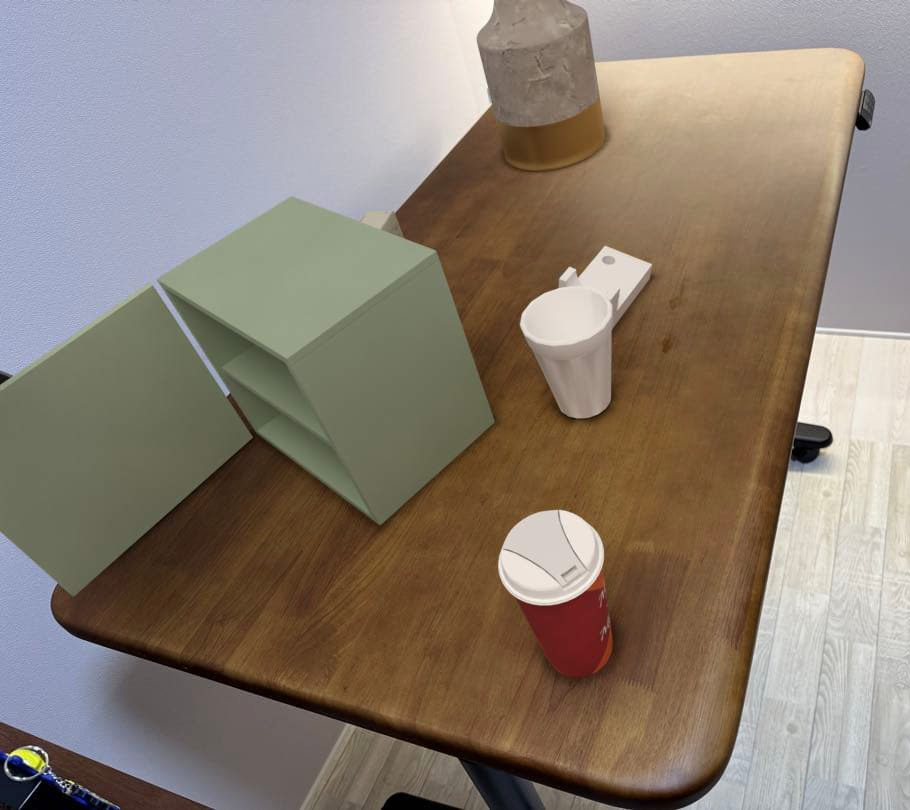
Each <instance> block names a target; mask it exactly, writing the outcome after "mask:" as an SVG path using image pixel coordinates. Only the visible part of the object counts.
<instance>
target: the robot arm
mask: <svg viewBox="0 0 910 810" xmlns="http://www.w3.org/2000/svg"><path fill="white" fill-rule="evenodd" d="M13 376H14V375H13V374H10V373H8V372H6V371H3V370H0V385H1V384H2V383H4V382H5V381H7V380H8V379H10V378H11V377H13Z"/></svg>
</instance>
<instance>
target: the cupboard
mask: <svg viewBox="0 0 910 810" xmlns="http://www.w3.org/2000/svg"><path fill="white" fill-rule="evenodd" d="M156 281H157V284H159V286H160V287H161V290H163V292H164V294H165V295H166V297H167V298H168V300H169V301H170V303H171V304H172V306H173V307H174V309H175V310H176V312H177V313H178V315H179V317H180V318H181V321H183V323H184V324H185V326H186V327H187V329H188V330H189V332H190V334H191V335H192V336H193V338H194V340H195V341H196V342H197V344H198V346H199V348H200V349H201V351H202V352H203V353H204V355H205V357H206V358H207V360H208V362H209V363H210V364H211V366H212V367H213V369H214V370H215V372H216V373H217V375H218V377H219V378H220V380H221V381H222V383H223V384H224V385H225V387H226V389H227V390H228V392H229V393H230V395H231V396H232V398H233V400H234V401H235V402H236V403H235V404H237V405H238V407H239V409H240V410H241V412H242V413H243V415H244V416H245V418H246V419H247V421H248V422H249V424H250V425H251V428H252V429H253V430H254V432H255V433H256V434H257V435H258V436H259V437H261V438H262V439H264V440H265V441H266V442H267V443H269V444H270V445H272V446H273V447H274V448H275V449H277V450H278V451H280V453H282V454H283V455H285V456H286V457H287V458H288V459H290V460H292V461H293V462H294V463H295V464H297V465H298V466H299V467H301V468H302V469H304V470H305V471H306V472H308V473H309V474H310V475H312V476H313V477H314V478H316V479H317V480H318V481H319V482H321V483H322V484H324V485H325V486H326V487H327V488H329V489H330V490H332V491H333V492H334V493H336V494H337V495H339V496H340V497H341V498H343V499H344V500H345V501H346V502H348V503H349V504H351V505H352V507H354V508H356V509H357V510H358V511H360V512H361V513H363V514H364V515H365V516H367V517H368V518H369V519H371V520H372V521H373V522H374V523H376V524H377V525H379V526H382V525H383V524H384V523H385V522H386V521H387V520H388V519H389V518H390V517H392V516H393V515H394V514H395V513H396V512H397V511H398V510H400V509H401V508H402V507H403V506H404V505H405V504H406V503H407V502H408V501H409V500H411V499H412V498H413V497H414V496H415V495H416V494H417V493H418V492H420V490H422V488H424V487H425V486H426V485H428V483H429V482H431V481H432V480H433V479H434V478H435V477H437V475H439V473H441V472H442V471H444V469H445V468H446V467H447V466H449V464H451V463H452V462H453V461H454V460H455V459H456V458H457V457H458V456H460V454H461V453H463V452H464V451H465V450H466V449H467V448H468V447H469V446H470V445H472V444H473V443H474V442H475V441H476V440H477V439H478V438H479V437H481V436H482V435H483V434H484V433H485V432H487V430H488V429H489V428H491V427H492V426H493V425H494V424H495V423H496V421H495V418H494V415H493V412H492V408H491V407H490V404H489V400H488V398H487V394H486V392H485V389H484V386H483V382H482V380H481V377H480V374H479V371H478V368H477V366H476V362H475V360H474V356H473V353H472V350H471V348H470V345H469V342H468V339H467V336H466V334H465V330H464V327H463V324H462V322H461V319H460V315H459V313H458V309H457V306H456V304H455V301H454V299H453V295H452V292H451V289H450V286H449V284H448V281H447V278H446V275H445V272H444V268H443V266H442V263H441V260H440V257H439V254H438V252H437V250H436V249H433V248H431V247H427V246H425V245H422V244H420V243H417V242H414V241H412V240H409V239H407V238H405V237H404V238H401V237H399V236H396V235H394V234H391V233H388V232H386V231H383V230H380V229H378V228H375V227H372V226H370V225H367V224H364V223H362V222H360V220H356V219H354V218H351V217H349V216H347V215H343V214H340V213H339V212H338V213H337V212H336V211H333V210H330V209H327V208H324V207H322V206H319V205H318V204H317V205H316V204H314V203H311V202H309V201H306V200H303V199H301V198H298V197H295V196H293V195H292V196H289V197H287V198H286V199H284V200H283V201H281V202H279V203H278V204H277V205H275V206H273V207H271V208H270V209H268V210H267V211H265V212H263V213H261V214H260V215H259V216H257V217H255V218H254V219H251V220H250V221H249V222H246V223H245V224H244V225H242V226H240V227H239V228H237V229H235V230H234V231H232V232H230V233H229V234H227V235H226V236H224V237H222V238H221V239H219V240H217V241H216V242H214V243H212V244H210V245H209V246H207V247H206V248H205V249H203V250H201V251H199V252H197V253H196V254H195V255H193V256H192V257H190V258H188V259H186V260H185V261H183V262H182V263H180V264H178V265H176V266H175V267H173V268H172V269H170V270H168V271H167V272H165V273H163V274H162V275H160V276H159V277H157V278H156Z"/></svg>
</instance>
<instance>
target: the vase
mask: <svg viewBox="0 0 910 810" xmlns="http://www.w3.org/2000/svg"><path fill="white" fill-rule="evenodd" d="M590 29H591V28H590V21H589V15H588V12H587V10H585V8H584V7H582V6H581V5H578V4H575V3H572V2H570V1H569V0H493V7H492V13H491V15H490V18H489V19H488V21H487V22H486V23H485V24H484V25H483V27H481V29H480V30H479V31H478V33H477V35H476V45H477V48H478V53H479V58H480V62H481V65H482V69H483V74H484V77H485V81H486V85H487V89H488V94H489V97H490V101H491V106H492V110H493V113H494V118H495V122H496V126H497V130H498V134H499V138H500V142H501V146H502V151H503V154H504V158H505V161H506V162H507V164H509V166H511V167H513V168H515V169H518V170H523V171H527V172H547V171H554V170H559V169H562V168H563V169H564V168H568V167H570V166H574V165H576V164H579V163H581V162H583V161H585V160H587V159H589V158H591V157H592V156H593V155H594V154H596V153H597V152H598V151H599V150H600V149H601V148H602V147H603V146H604V144H605V142H606V139H607V138H606V130H605V124H604V117H603V116H604V115H603V110H602V102H601V97H600V89H599V82H598V77H597V68H596V62H595V54H594V49H593V43H592V42H593V41H592V35H591V30H590Z"/></svg>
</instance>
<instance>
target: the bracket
mask: <svg viewBox="0 0 910 810" xmlns="http://www.w3.org/2000/svg"><path fill="white" fill-rule="evenodd" d="M652 268H653V263H651V262H648V261H645V260H642V259H640V258H638V257H636V256H635V257H634V256H633V255H630V254H627V253H625V252H623V251H619V250H617V249H615V248H612V247H610V246H607V245H604V246H603V247H602V248H601V250H600V251H599V252H598V254H596V256H595V257H594V258H593V259H592V261H591V262H590V263H589V264H588V265H587V266H586V267H585V269H584V270H583V271H582V272H581V274H580V275H579V276H578V274H577V269H576V268H574V267H572V266H568V268H567V269H566V270H565V271H564V272H563V273H562V275H561V276H560V277H559V278H558V288H562V287H572V286H581V287H588V288H593V289H595V290H597V291H599V292H601V293H603V294H605V295H606V296H607V297H608V299H609V300H610V302H611V303H612V307H613V324H612V330H613V329H614V327H616V325H617V323H618V322H619V321H620V319H621V318H622V317H623V316H624V314H625V313H626V312H627V310H628V309H629V307H630V306H631V305H632V303H633V302H634V301H635V299H636V298H637V297H638V295H640V293H641V291H642V290H643V289H644V287H645V286H646V285H647V283H648V282H649V281H650V279H651V274H652Z"/></svg>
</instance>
